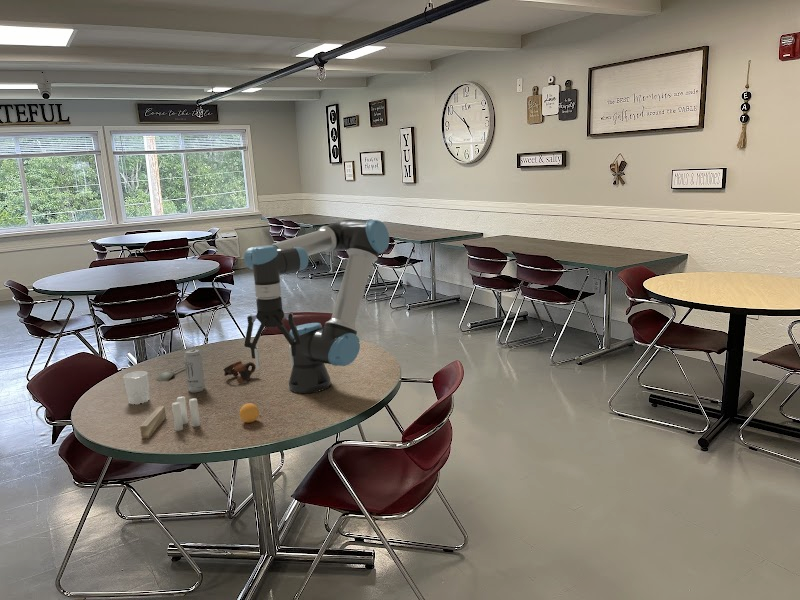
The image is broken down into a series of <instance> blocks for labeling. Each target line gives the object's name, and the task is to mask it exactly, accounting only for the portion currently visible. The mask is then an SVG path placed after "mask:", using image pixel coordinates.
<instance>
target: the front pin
mask: <svg viewBox="0 0 800 600" xmlns="http://www.w3.org/2000/svg"><path fill="white" fill-rule="evenodd" d="M188 404H189V413H190V421H191V426H192V427H193V428H194V427H199V426H200V425H201V420H200V413H199V404H198V399H197V398H195V397H194V398H189V400H188Z"/></svg>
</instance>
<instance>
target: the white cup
mask: <svg viewBox="0 0 800 600" xmlns="http://www.w3.org/2000/svg"><path fill="white" fill-rule="evenodd" d="M123 382H124V386H125V391H126V396H127V398H128V399H127V401H128V403H129V404H130V405H134V404H135V405H140V403H142V404H145V403H147V402H149V401H150V385H149V384H150V383H149V374H148V371H145V370H136V371H130V372H128V373H126V374H124V375H123ZM148 400H149V401H148ZM144 402H145V403H144Z"/></svg>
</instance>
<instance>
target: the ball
mask: <svg viewBox="0 0 800 600" xmlns="http://www.w3.org/2000/svg"><path fill="white" fill-rule="evenodd" d="M259 414H260V410H259V407H257V405H256V404H254V403H250V402H249V403H245V404H243V405H242V406H241V407H240V409H239V417H240V419H241V420H242V421H243V422H245V423H248V424H249V423H253V422H255V421H256V420H258V418H259V416H260V415H259Z"/></svg>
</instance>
